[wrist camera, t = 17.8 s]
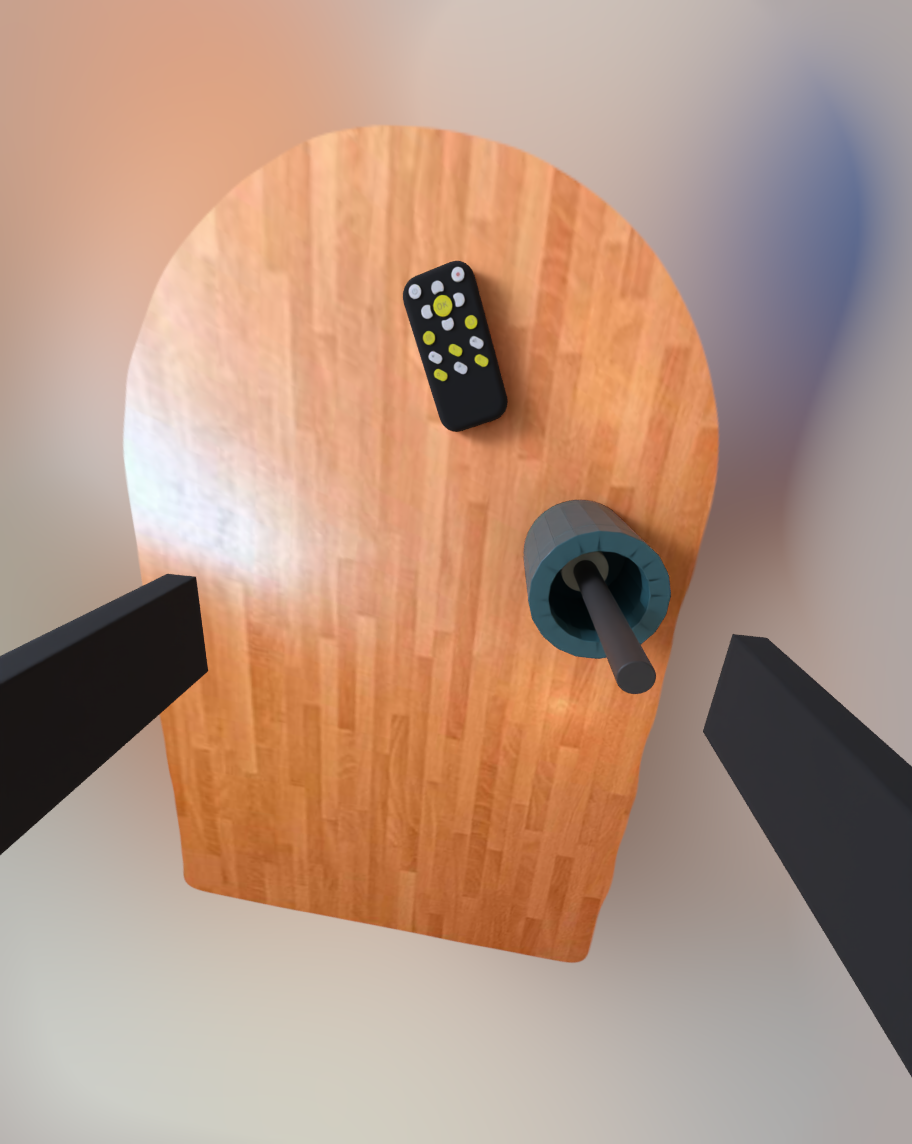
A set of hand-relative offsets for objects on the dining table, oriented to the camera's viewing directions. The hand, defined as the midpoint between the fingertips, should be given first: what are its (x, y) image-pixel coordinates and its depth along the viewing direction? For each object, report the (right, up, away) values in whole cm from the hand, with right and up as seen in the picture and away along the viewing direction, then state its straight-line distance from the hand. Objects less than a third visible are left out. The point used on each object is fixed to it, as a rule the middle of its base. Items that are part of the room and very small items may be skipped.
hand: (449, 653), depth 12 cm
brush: (+12, +4, +33) cm, 36 cm away
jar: (+12, +4, +34) cm, 37 cm away
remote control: (0, +21, +30) cm, 37 cm away
